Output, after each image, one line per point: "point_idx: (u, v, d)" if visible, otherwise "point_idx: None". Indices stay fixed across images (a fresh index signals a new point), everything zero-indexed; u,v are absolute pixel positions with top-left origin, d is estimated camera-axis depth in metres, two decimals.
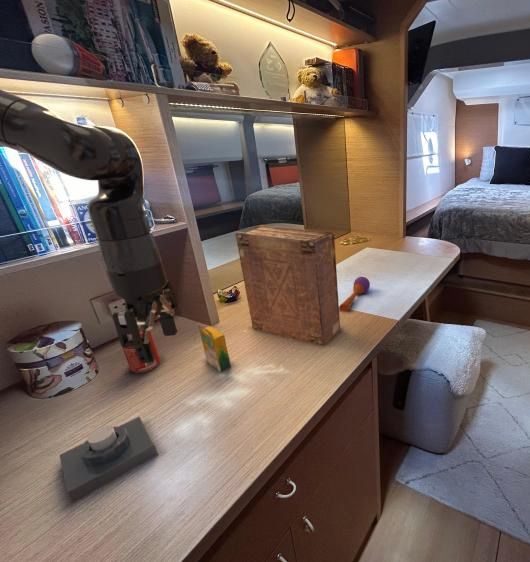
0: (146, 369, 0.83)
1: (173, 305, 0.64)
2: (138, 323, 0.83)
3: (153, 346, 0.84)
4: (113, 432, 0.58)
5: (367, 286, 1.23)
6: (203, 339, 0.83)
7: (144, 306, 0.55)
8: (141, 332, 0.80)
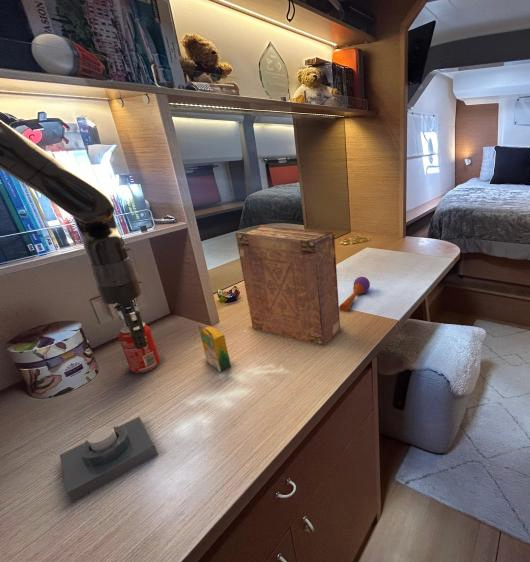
0: (146, 369, 0.83)
1: None
2: None
3: (153, 346, 0.84)
4: (113, 432, 0.58)
5: (367, 286, 1.23)
6: (203, 339, 0.83)
7: (133, 307, 0.78)
8: None
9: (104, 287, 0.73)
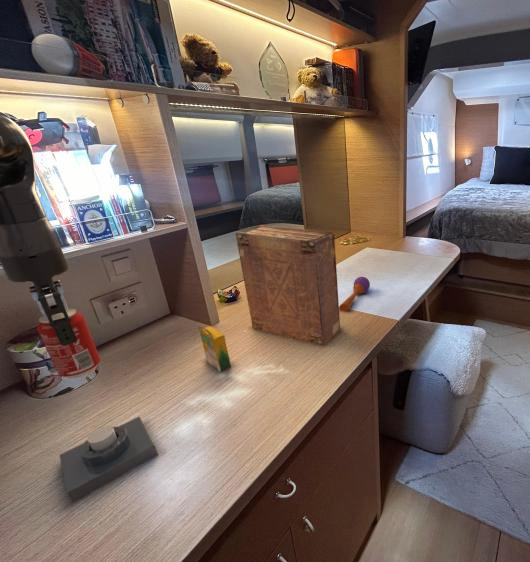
0: (78, 372, 0.62)
1: None
2: (67, 311, 0.62)
3: (89, 342, 0.63)
4: (113, 432, 0.58)
5: (367, 286, 1.23)
6: (203, 339, 0.83)
7: (55, 288, 0.57)
8: None
9: (6, 258, 0.52)
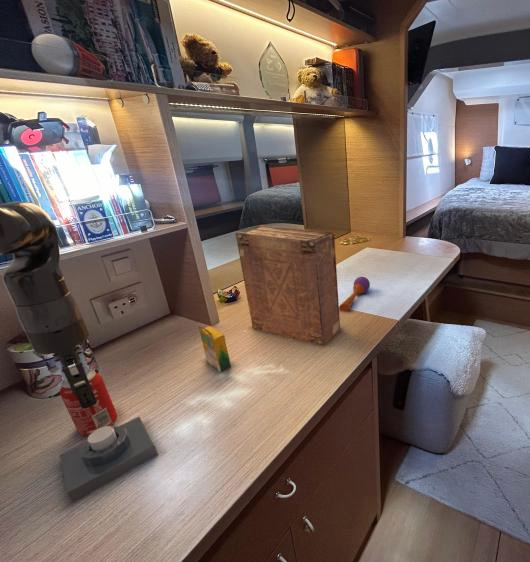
0: None
1: None
2: None
3: (107, 401, 0.66)
4: (113, 432, 0.58)
5: (367, 286, 1.23)
6: (203, 339, 0.83)
7: (77, 356, 0.60)
8: None
9: (33, 334, 0.55)
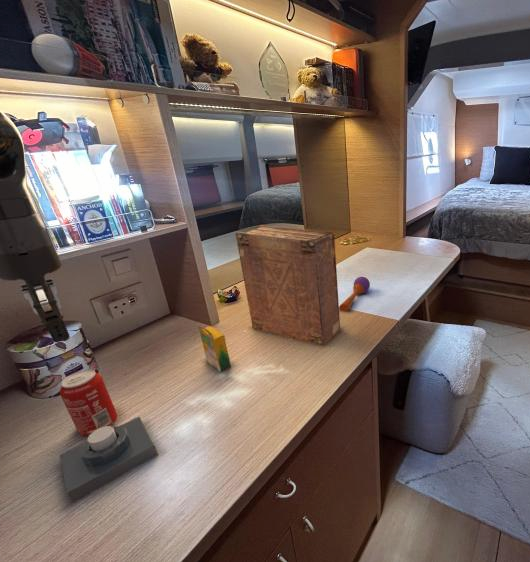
0: None
1: None
2: (87, 372, 0.65)
3: (107, 401, 0.66)
4: (113, 432, 0.58)
5: (367, 286, 1.23)
6: (203, 339, 0.83)
7: (47, 286, 0.55)
8: (89, 386, 0.63)
9: None
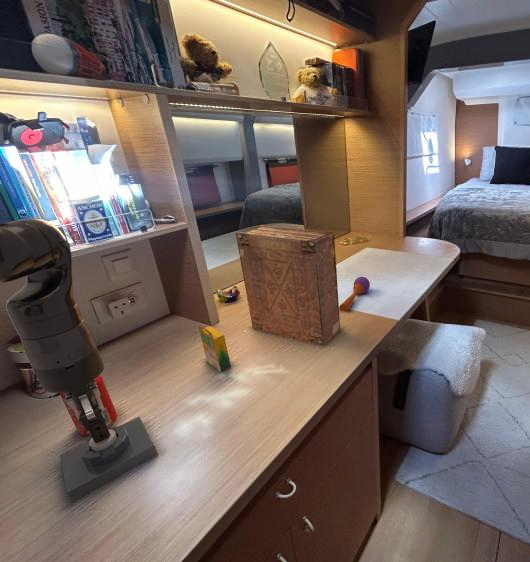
0: None
1: None
2: None
3: (107, 401, 0.66)
4: (114, 435, 0.59)
5: (367, 286, 1.23)
6: (203, 339, 0.83)
7: (91, 392, 0.53)
8: None
9: (43, 371, 0.48)
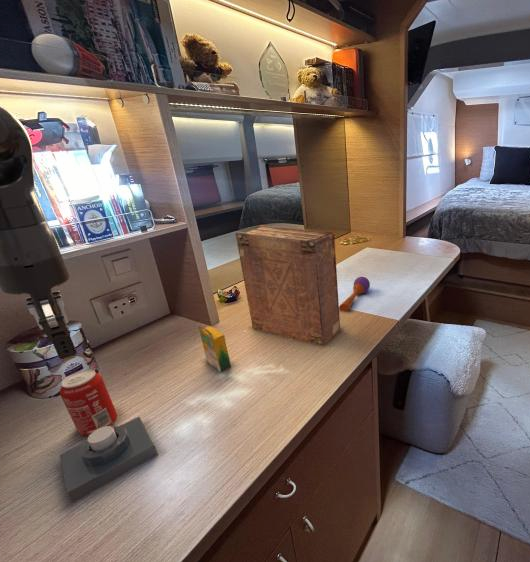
0: None
1: None
2: (87, 372, 0.65)
3: (107, 401, 0.66)
4: (113, 432, 0.58)
5: (367, 286, 1.23)
6: (203, 339, 0.83)
7: (54, 300, 0.51)
8: (89, 386, 0.63)
9: (0, 267, 0.46)
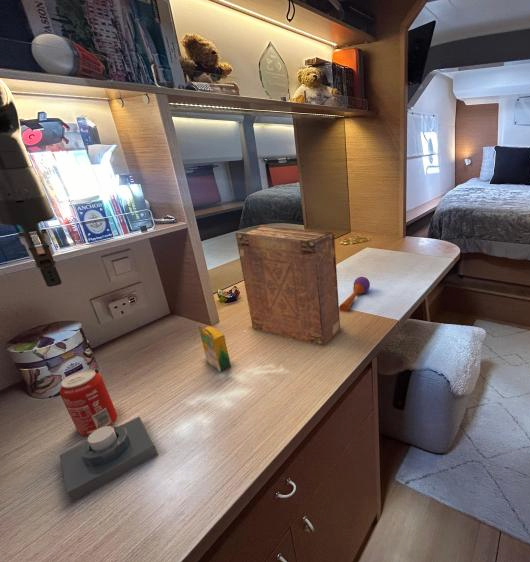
0: None
1: None
2: (87, 372, 0.65)
3: (107, 401, 0.66)
4: (113, 432, 0.58)
5: (367, 286, 1.23)
6: (203, 339, 0.83)
7: (41, 233, 0.62)
8: (89, 386, 0.63)
9: None
